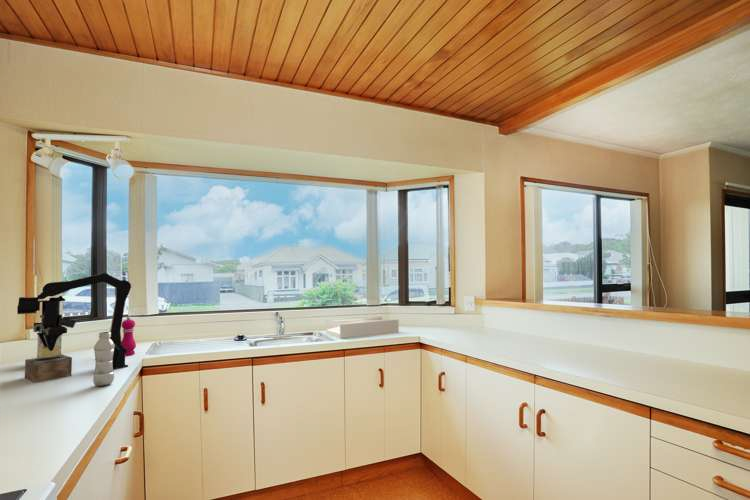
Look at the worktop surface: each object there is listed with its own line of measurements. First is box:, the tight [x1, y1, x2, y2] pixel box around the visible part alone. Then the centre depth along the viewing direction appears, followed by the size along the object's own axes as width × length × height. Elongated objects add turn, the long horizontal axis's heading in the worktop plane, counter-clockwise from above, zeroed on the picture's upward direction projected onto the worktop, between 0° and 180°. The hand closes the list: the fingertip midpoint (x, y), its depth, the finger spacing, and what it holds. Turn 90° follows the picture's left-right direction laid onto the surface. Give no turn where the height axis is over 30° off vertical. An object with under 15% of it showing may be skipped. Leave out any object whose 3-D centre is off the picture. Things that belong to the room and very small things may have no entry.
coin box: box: [24, 353, 73, 384], centre depth 159 cm, size 12×12×8 cm
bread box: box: [325, 316, 400, 340], centre depth 265 cm, size 45×22×10 cm, turn 121°
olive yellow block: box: [38, 345, 60, 358], centre depth 160 cm, size 6×4×4 cm, turn 146°
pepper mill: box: [121, 316, 137, 357], centre depth 201 cm, size 7×7×20 cm
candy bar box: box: [36, 331, 62, 358], centre depth 182 cm, size 11×5×16 cm, turn 65°
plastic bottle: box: [92, 331, 115, 387], centre depth 147 cm, size 6×7×20 cm
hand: (49, 350), depth 160 cm, fingers closed on olive yellow block, 4 cm apart
